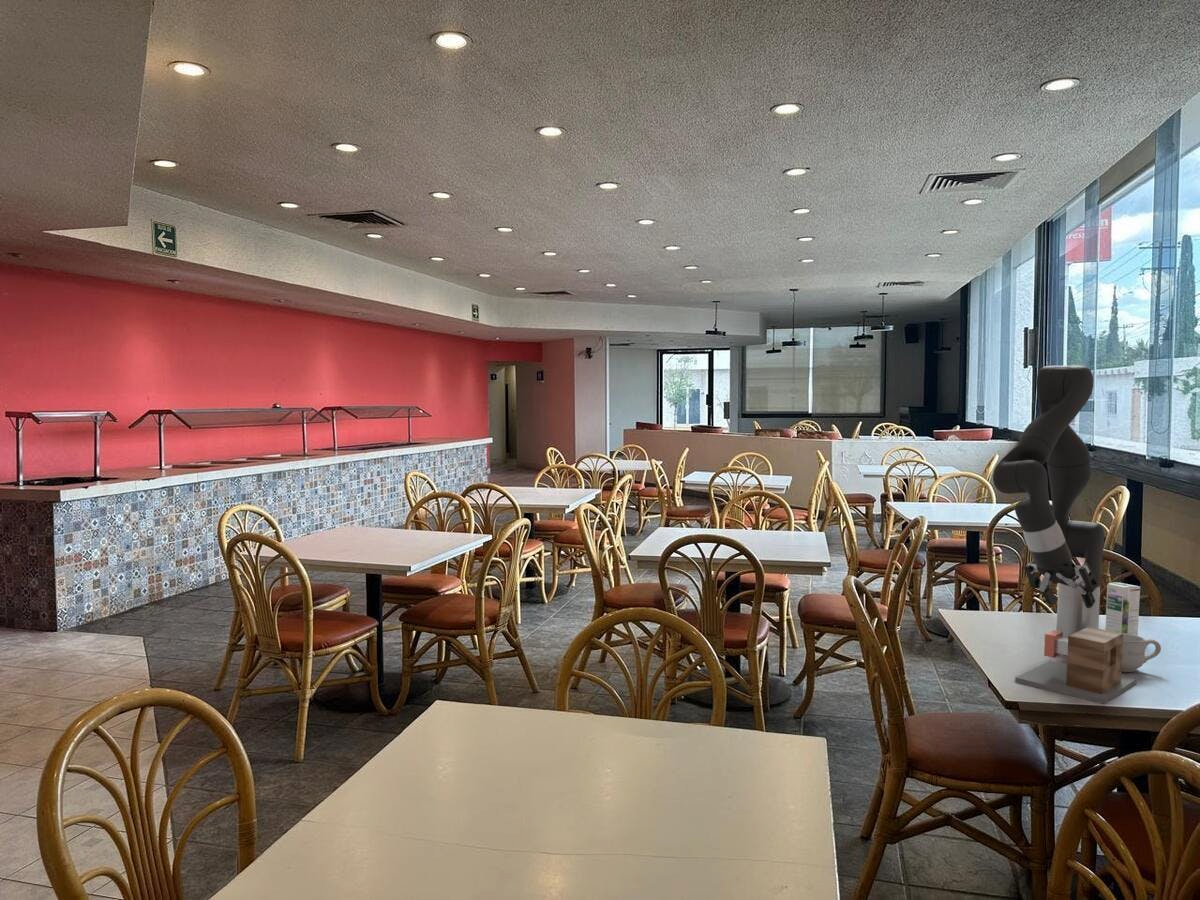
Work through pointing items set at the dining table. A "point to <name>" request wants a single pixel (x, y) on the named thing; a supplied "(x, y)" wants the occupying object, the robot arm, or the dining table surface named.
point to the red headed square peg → (1055, 644)
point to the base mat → (1055, 677)
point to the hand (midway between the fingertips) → (1071, 604)
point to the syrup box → (1122, 608)
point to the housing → (1094, 659)
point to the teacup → (1136, 652)
